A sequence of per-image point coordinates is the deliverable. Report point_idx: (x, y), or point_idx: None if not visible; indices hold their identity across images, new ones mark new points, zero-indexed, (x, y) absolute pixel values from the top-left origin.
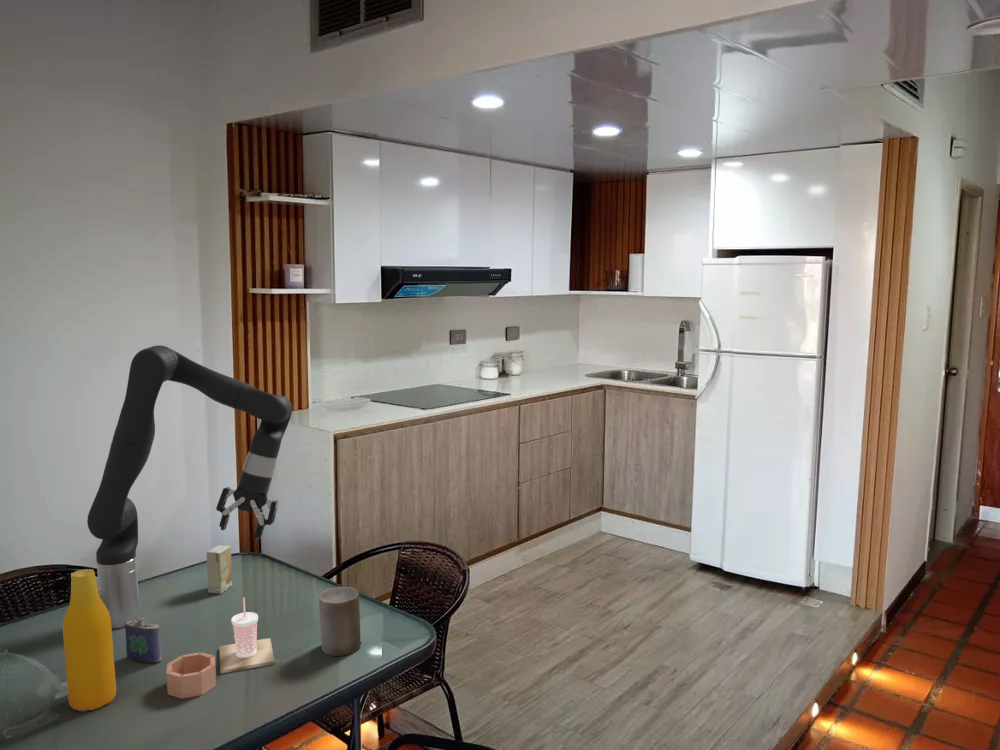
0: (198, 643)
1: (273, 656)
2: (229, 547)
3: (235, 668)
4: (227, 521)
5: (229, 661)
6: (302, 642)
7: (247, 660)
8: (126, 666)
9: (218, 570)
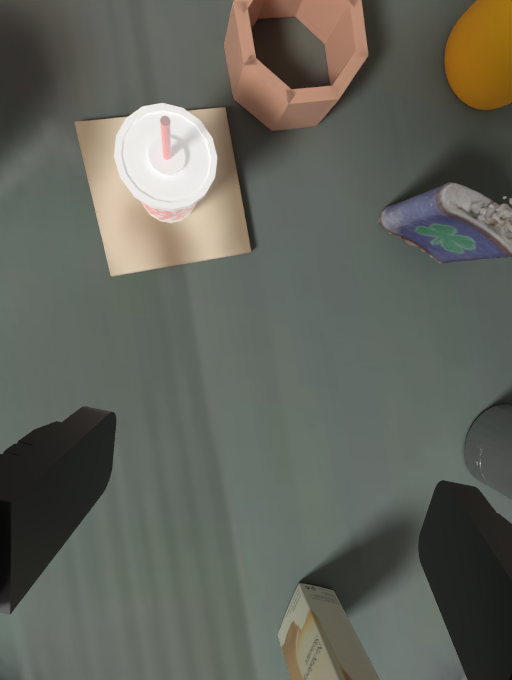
0: (308, 298)
1: (81, 151)
2: None
3: None
4: (456, 607)
5: None
6: (6, 249)
7: None
8: None
9: (329, 643)
